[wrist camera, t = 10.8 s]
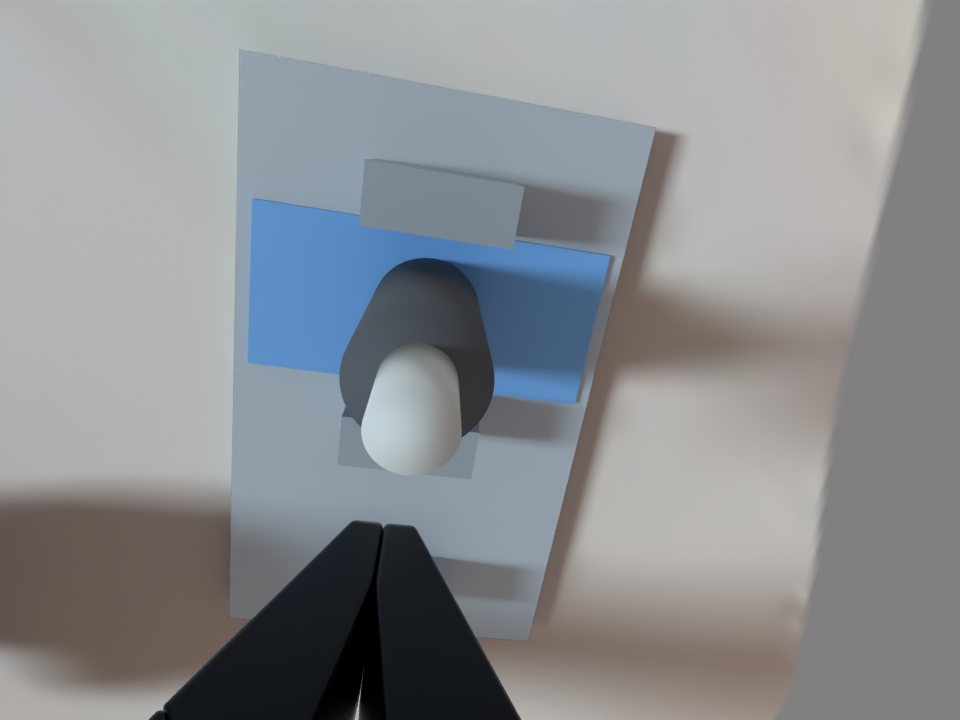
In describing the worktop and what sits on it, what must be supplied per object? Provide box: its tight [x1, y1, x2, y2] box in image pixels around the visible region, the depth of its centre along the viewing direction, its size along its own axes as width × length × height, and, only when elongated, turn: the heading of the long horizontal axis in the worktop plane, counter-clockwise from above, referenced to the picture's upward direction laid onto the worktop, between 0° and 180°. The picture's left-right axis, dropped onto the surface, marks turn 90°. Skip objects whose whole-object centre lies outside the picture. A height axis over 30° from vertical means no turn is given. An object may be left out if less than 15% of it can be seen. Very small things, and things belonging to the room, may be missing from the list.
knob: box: [339, 258, 495, 476], centre depth 14 cm, size 3×3×8 cm
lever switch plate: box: [229, 49, 656, 641], centre depth 18 cm, size 12×20×4 cm, turn 171°
